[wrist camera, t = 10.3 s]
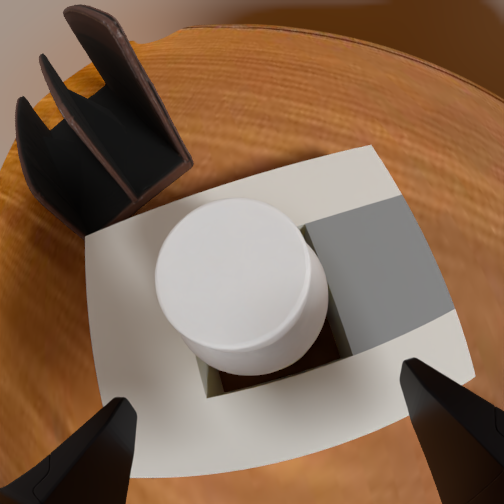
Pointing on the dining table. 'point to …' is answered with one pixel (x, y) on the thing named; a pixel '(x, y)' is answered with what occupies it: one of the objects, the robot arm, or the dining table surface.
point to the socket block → (338, 314)
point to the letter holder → (100, 135)
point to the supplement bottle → (242, 286)
